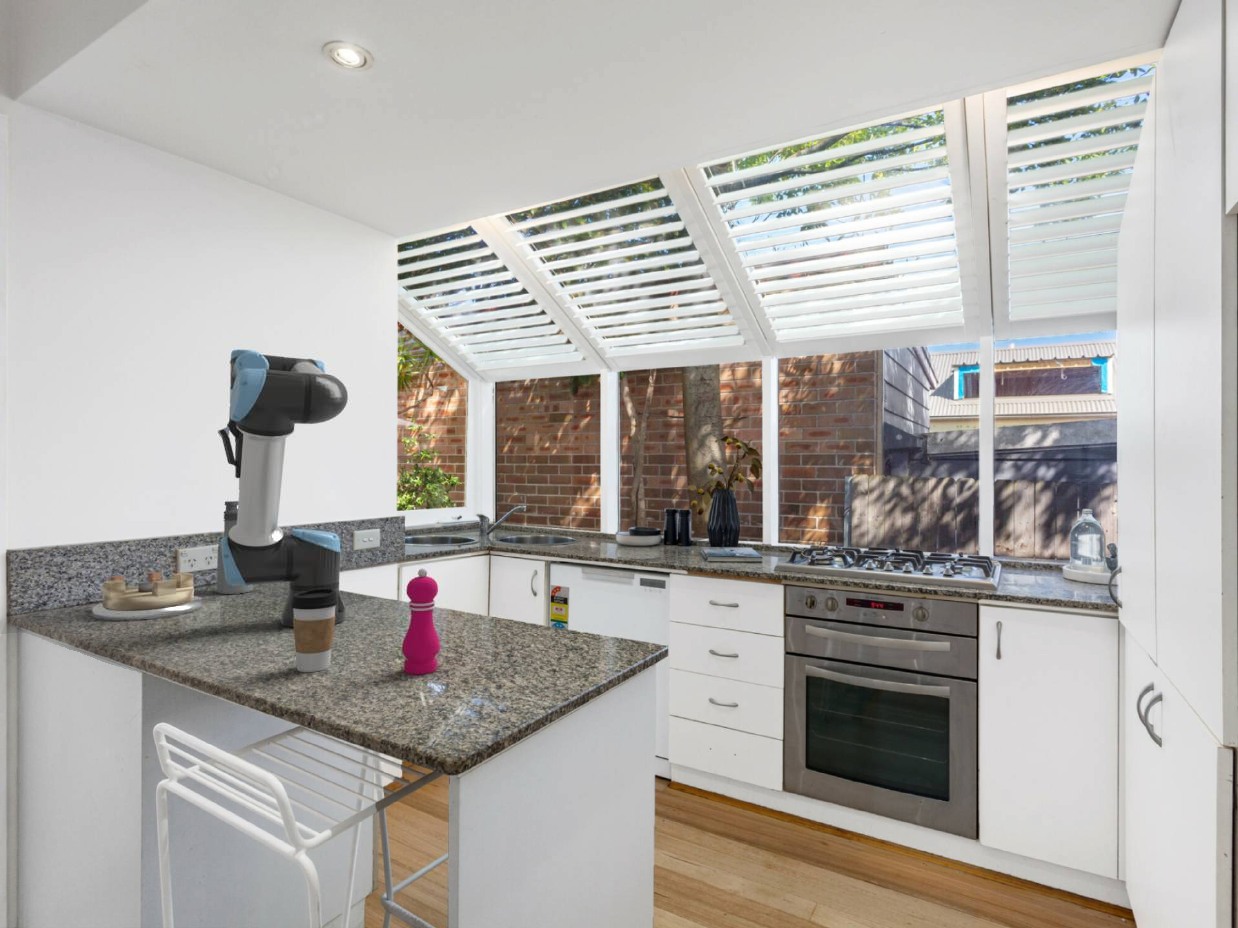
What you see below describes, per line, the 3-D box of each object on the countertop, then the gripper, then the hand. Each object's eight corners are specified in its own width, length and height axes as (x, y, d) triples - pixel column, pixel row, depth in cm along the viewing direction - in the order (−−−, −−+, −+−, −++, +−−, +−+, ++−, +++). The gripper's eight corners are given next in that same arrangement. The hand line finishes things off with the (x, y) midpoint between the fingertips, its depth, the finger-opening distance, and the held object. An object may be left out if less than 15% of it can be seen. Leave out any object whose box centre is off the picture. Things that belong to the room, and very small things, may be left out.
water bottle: (245, 587, 217) (246, 500, 217) (260, 591, 211) (262, 501, 211) (210, 592, 209) (212, 501, 209) (225, 596, 203) (227, 502, 203)
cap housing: (212, 611, 182) (212, 598, 182) (100, 625, 165) (100, 610, 165) (189, 598, 199) (190, 586, 199) (86, 609, 182) (86, 596, 182)
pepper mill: (419, 677, 129) (421, 572, 129) (393, 671, 133) (395, 568, 133) (447, 668, 135) (449, 567, 135) (422, 662, 139) (424, 564, 139)
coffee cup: (345, 666, 135) (347, 590, 135) (306, 676, 128) (307, 597, 128) (319, 659, 140) (321, 586, 140) (280, 669, 133) (282, 592, 133)
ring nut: (207, 600, 185) (208, 576, 185) (122, 613, 168) (123, 586, 168) (172, 592, 196) (173, 569, 196) (89, 603, 179) (89, 578, 179)
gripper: (265, 408, 198) (263, 489, 198) (215, 404, 189) (213, 489, 188) (274, 407, 192) (272, 490, 192) (222, 403, 183) (220, 490, 183)
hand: (243, 489), depth 190 cm, fingers closed
